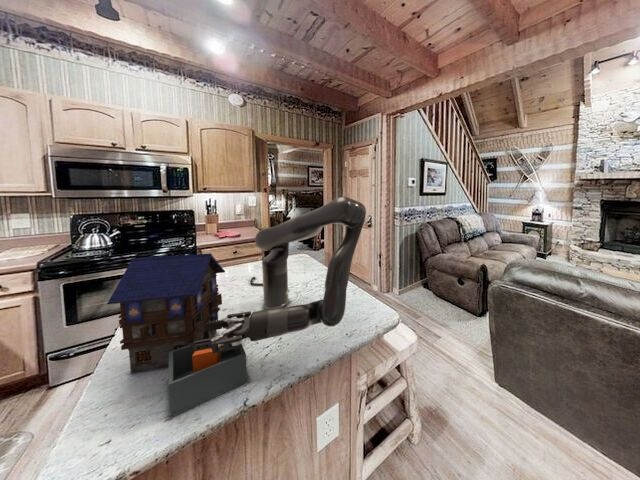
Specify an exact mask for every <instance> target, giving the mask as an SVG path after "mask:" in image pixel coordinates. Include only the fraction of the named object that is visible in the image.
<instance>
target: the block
mask: <svg viewBox="0 0 640 480" xmlns="http://www.w3.org/2000/svg"><path fill="white" fill-rule="evenodd" d="M219 348H220V347H219ZM192 360H193V373H195V372H197V371H200V370H202V369H205V368H207V367H210V366H212V365H215V364H217V363H220V362H221V352H219V353H215V354H213V353H212V349H211V348H209V349H204V350H199V351H195V352H194V354H193V355H192Z"/></svg>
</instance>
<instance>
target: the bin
mask: <svg viewBox="0 0 640 480" xmlns="http://www.w3.org/2000/svg"><path fill="white" fill-rule="evenodd" d="M218 335H219V334H218ZM218 335H217V334H216V335H215V336H214V337H216V336H218ZM214 337H211V338H214ZM208 339H209V338H208ZM219 340H222V338H221V339H219ZM217 341H218V340H217ZM221 347H224V345H223V346H221ZM221 347H220V348H221ZM194 352H195V351H192V344H191V345H188V346H185V347H182V348H179V349H176V350H173V351H170V352H169V367H168V369H167V370H168V372H167V374H168V375H167V389H168V390H167V391H168V403H169V415H170V418H173V417H175V416H178V415H179V414H181V413H184V412H186V411H188V410H190V409H192V408H194V407H196V406H199V405H201V404H203V403H205V402H208V401H209V400H211V399H213V398H216V397H218V396H220V395H222V394H224V393H227V392H230V391H231V390H233V389H235V388H237V387H239V386H242V385H243V384H246V383H248V369H247V366H248V365H247V352H246V351H245V348H244V346H243V345H242V346H241V347H239V348H236V349H231V350H227V351H223V352H221V362H220V363H217V364H215V365H212V366H210V367H207V368H205V369H202V370H200V371H197V372H195V373H193V360H192V355H193V354H194Z"/></svg>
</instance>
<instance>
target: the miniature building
mask: <svg viewBox="0 0 640 480" xmlns="http://www.w3.org/2000/svg"><path fill="white" fill-rule="evenodd" d="M223 273H226V270H225V269H224V268H223V267H222V266H221V265H220V263H219V262H218V261H217V260H216V258H215V257H214V255H213V254H212V253H210V252H209V253H196V254H180V255H179V254H178V255H164V256H150V257H149V256H148V257H134V258H133V257H132V258H131V260H130V262H129V264H128V266H127V268H126V269H125V271H124V273H123V275H122V276H121V278H120V280H119V282H118V283H117V286H116V287H115V289H114V291H113V292H112V294H111V296H110V298H109V300H108V301H107V302H106V305H113V304H114V305H115V304H119V307H120V308H119V310H120V314H119V315H118V325H119V329H121V331H122V339H121V340H120V341H119V345H120V344H122V345H121V347H120V348H121V349H120V350H121V351H125V350H128V354H129V356H128V357H129V366H130V373H131V374H133V373H139V372H145V371H151V370H157V369H163V368H169V352H170V351H173V350H176V349H179V348H182V347H185V346H188V345H191V344H193V342H194V341H198V340H204V339H208V338H211V337H214V336H217V334H218V331H217V330H212V331H205V324H206V323H208V322H213V321H219V312H220V311H221V307H219V306H222V305H223V297H222V293H219V284H218V283H217V276H218V274H223Z"/></svg>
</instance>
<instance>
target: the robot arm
mask: <svg viewBox="0 0 640 480" xmlns="http://www.w3.org/2000/svg"><path fill="white" fill-rule="evenodd" d="M366 216H367V208H366V206H365V205H364V204H363V203H362V202H361V201H358V200H356V199H353V198H350V197H348V196H339V197H337V198H335V199H332V200H331V201H329V202H327V203H326V204H324V205H322V206H319V207H318V208H315V209H312V210H310V211H307V212H305V213H302V214H299V215H297V216H295V217H292V218H290V219H288V220H286V221H283V222H282V223H279V224H278V225H274V226H271V227H265V228H262V229H260V230H259V231H258V232H257V233H256V234H255V238H254V243H255V245H256V247H257V248H258V249H259V250H261V251H264V252H268V251H269V252H270V253H269V254H268V255H266V256H265V257H263V259H262V260H261V269H262V273H261V274H262V283H261V282H260V283H258V282H253V281H254V280H256V277H255V276H252V277H251V278H250V281H249V283H250V284H251V285H252V286H262V291H263V293H262V295H263V308H264V309H261V310H256V311H253V312H252V311H243V312H237V313H230V314H227V315H226V317H224V318H223V319H220V320H219V319H218V321H217V320H216V321H213V322H208V323H206V324H205V331H212V330H222V329H225V330H223V331H221V333H220V334H218V336H217V335H215V336H216V337H214V338H209V339H204V340H198V341H194V342H193V344H192V351H199V350H204V349H209V348H211V349H212V353H213V354H215V353H219V352H223V351H227V350H231V349H236V348H239V347H241V346H243V340H245V339H247V338H248V339H249V340H250V341H251V342H256V341H261V340H266V339H272V338H275V337H280V336H283V335H286V334H291V333H296V332H300V331H304V330H306V329H308V328H310V327H311V326H314V325H317V324H323V325H324V326H326V327H330V328H331V327H335V326H338V325H339V324H340V323H341V322H342V320H343V318H344V316H345V311H346V302H347V288H348V285H349V280H350V273H351V267H352V262H353V258H354V254H355V251H356V248H357V245H358V242H359V239H360V236H361V233H362V230H363V228H364V224H365V220H366ZM335 224H336V225H341V226H345V231H344V236H343V238H342V240H341V243H340V244H339V246H338V247H337V249H336V250H335V251H334V252H333V255H332V256H331V258H330V259H329V263H328V266H327V270H326V276H325V281H324V294H323V299H320V300H315V301H312V302H309V303H304V304H296V305H291V306H290V305H289V306H287V305H288V304H289V302H290V300H289V299H290V298H289V292H290V288H289V278H288V277H289V275H288V258H289V256H290V254H289V251H290V243H295V242H301V241H304V240H308V239H311V238H314V237H316V236H317V235H319V234H320V233H321V232H322V230H323V228H324V227H326V226H330V225H335ZM221 338H222V340H219V339H221ZM217 340H218V341H217ZM223 345H224V347H221V346H223ZM219 347H221V348H219Z"/></svg>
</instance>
